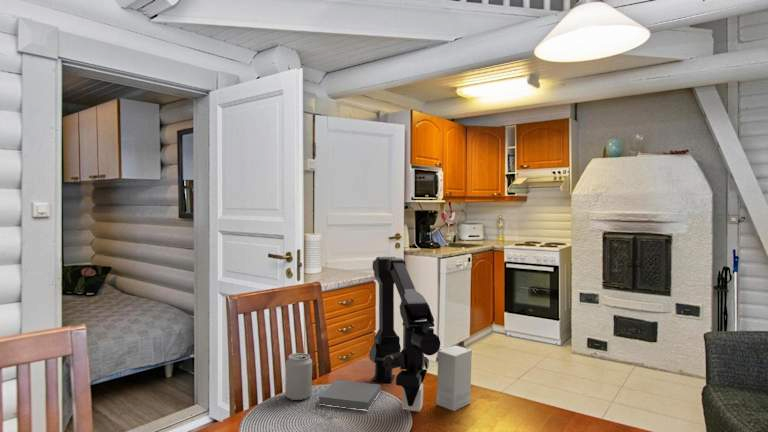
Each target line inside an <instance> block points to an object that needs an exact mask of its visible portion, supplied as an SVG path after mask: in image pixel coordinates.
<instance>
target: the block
mask: <svg viewBox="0 0 768 432" xmlns="http://www.w3.org/2000/svg"><path fill="white" fill-rule="evenodd" d="M401 391H402V393H401V394H402V395H401V409H402V408H406V409H408V410H407V411H412V412H419V413H420V412H421V409H422V407H423V404H424V383H423V382H422V383H421V386H420V388H419V391H418V393H417V396H416V398H415V401H414V403H413V406H408V402H407V398H406V394H405V390H404V388H403V387H402V390H401Z"/></svg>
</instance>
